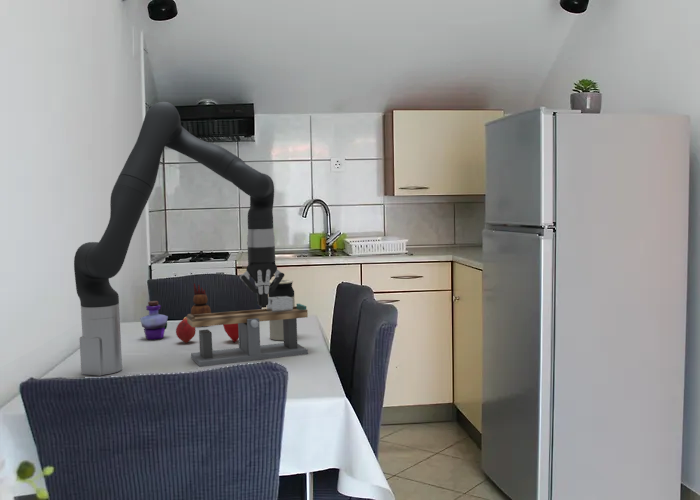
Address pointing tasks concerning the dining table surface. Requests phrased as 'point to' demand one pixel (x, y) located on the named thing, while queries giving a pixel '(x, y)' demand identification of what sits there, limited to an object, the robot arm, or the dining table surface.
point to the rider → (280, 304)
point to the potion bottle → (154, 322)
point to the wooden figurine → (200, 302)
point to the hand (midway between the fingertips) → (263, 307)
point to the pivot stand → (249, 345)
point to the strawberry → (232, 331)
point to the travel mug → (277, 325)
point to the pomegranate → (185, 331)
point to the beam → (244, 316)
